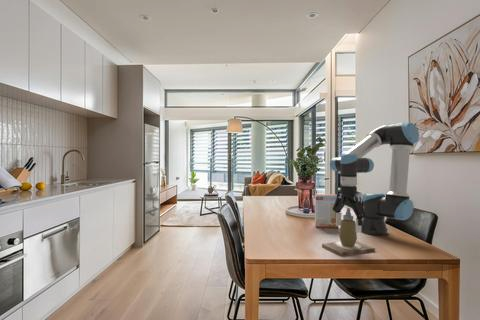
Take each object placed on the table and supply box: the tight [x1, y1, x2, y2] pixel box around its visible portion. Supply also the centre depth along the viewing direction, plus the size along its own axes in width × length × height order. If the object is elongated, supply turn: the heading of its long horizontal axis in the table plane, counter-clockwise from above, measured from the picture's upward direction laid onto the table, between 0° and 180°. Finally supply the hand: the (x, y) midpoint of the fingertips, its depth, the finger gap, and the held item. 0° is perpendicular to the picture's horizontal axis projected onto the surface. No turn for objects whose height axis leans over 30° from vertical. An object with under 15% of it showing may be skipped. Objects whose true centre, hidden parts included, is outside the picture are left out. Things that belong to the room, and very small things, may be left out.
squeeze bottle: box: [339, 207, 358, 246], centre depth 138 cm, size 8×8×18 cm
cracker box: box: [314, 193, 339, 229], centre depth 181 cm, size 14×6×21 cm, turn 84°
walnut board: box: [321, 240, 376, 257], centre depth 138 cm, size 20×14×2 cm
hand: (348, 228), depth 138 cm, fingers open, 13 cm apart
